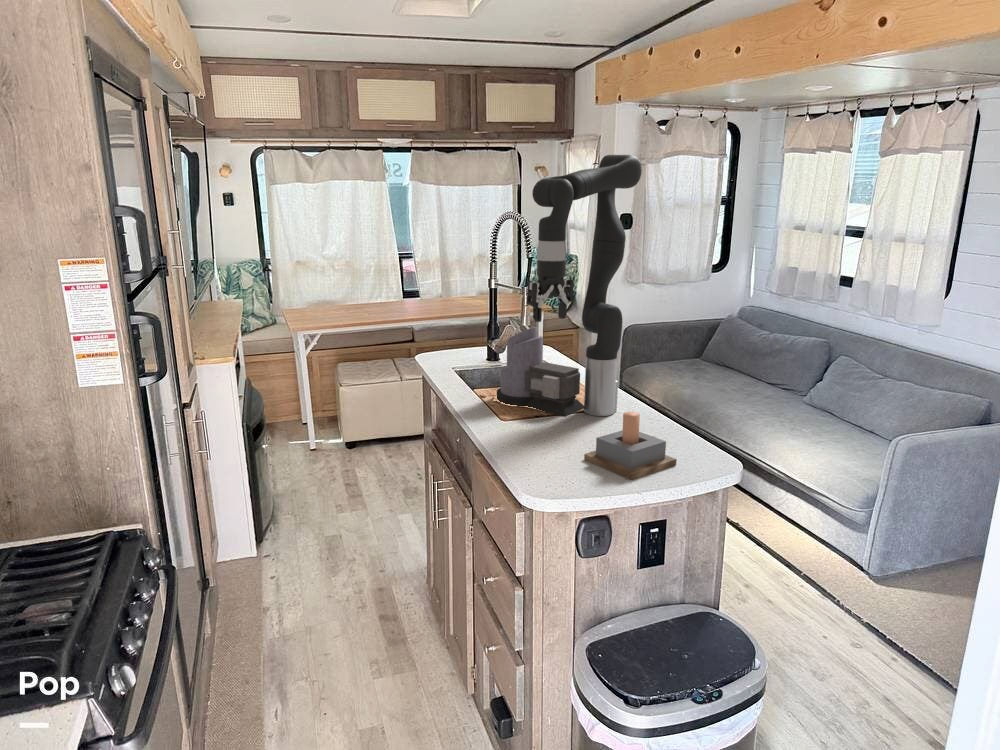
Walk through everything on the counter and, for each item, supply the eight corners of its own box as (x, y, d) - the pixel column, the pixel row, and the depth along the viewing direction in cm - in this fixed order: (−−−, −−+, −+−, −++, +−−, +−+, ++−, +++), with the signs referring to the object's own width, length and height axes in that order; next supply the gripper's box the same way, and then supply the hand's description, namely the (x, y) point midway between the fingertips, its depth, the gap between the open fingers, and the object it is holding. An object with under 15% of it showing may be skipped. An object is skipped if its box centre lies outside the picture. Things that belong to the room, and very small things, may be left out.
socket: (628, 444, 186) (629, 428, 185) (664, 458, 177) (666, 441, 176) (595, 454, 179) (596, 437, 178) (631, 469, 170) (632, 451, 169)
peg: (629, 452, 181) (630, 410, 178) (641, 456, 177) (643, 414, 175) (618, 456, 178) (619, 413, 175) (630, 460, 175) (632, 417, 172)
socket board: (628, 446, 189) (628, 441, 189) (676, 464, 177) (676, 459, 176) (584, 459, 180) (584, 453, 179) (631, 479, 167) (631, 473, 167)
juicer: (483, 400, 229) (483, 325, 223) (513, 389, 241) (513, 318, 235) (561, 419, 211) (563, 338, 205) (589, 406, 224) (592, 329, 217)
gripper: (539, 261, 179) (538, 324, 183) (581, 258, 187) (579, 319, 191) (521, 258, 184) (520, 320, 189) (562, 255, 193) (560, 315, 197)
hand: (550, 319), depth 190 cm, fingers open, 8 cm apart
